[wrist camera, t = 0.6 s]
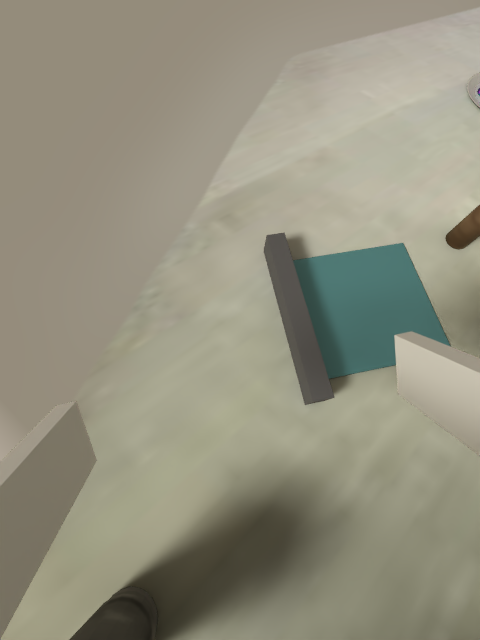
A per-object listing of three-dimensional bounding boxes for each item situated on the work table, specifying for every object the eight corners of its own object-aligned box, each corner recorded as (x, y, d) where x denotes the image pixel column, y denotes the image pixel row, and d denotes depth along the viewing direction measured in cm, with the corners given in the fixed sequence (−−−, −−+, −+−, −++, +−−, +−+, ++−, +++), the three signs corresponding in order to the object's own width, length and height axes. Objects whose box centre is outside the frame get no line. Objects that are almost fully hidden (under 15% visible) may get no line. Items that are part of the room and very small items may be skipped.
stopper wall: (324, 400, 30) (334, 397, 27) (305, 404, 29) (313, 402, 27) (279, 248, 36) (284, 232, 33) (263, 250, 35) (266, 235, 33)
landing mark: (452, 353, 32) (453, 352, 32) (327, 378, 30) (328, 378, 30) (402, 243, 37) (402, 242, 36) (292, 261, 35) (292, 260, 35)
